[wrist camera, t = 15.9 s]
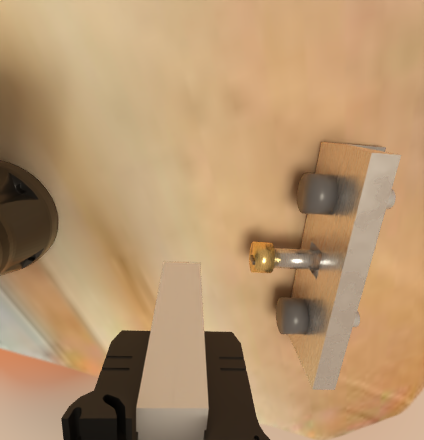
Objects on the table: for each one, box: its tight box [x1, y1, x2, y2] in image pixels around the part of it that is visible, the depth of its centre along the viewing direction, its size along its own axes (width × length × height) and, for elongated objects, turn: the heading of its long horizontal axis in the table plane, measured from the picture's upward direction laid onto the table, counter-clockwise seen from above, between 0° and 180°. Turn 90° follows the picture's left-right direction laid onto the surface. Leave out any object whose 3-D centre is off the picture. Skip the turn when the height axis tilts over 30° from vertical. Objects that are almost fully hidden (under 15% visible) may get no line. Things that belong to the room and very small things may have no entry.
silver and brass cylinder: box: [249, 242, 323, 273], centre depth 40 cm, size 11×4×4 cm, turn 85°
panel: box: [288, 142, 401, 390], centre depth 40 cm, size 8×30×12 cm, turn 175°
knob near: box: [297, 173, 396, 215], centre depth 38 cm, size 11×5×5 cm, turn 85°
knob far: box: [276, 297, 360, 335], centre depth 44 cm, size 11×5×5 cm, turn 85°
